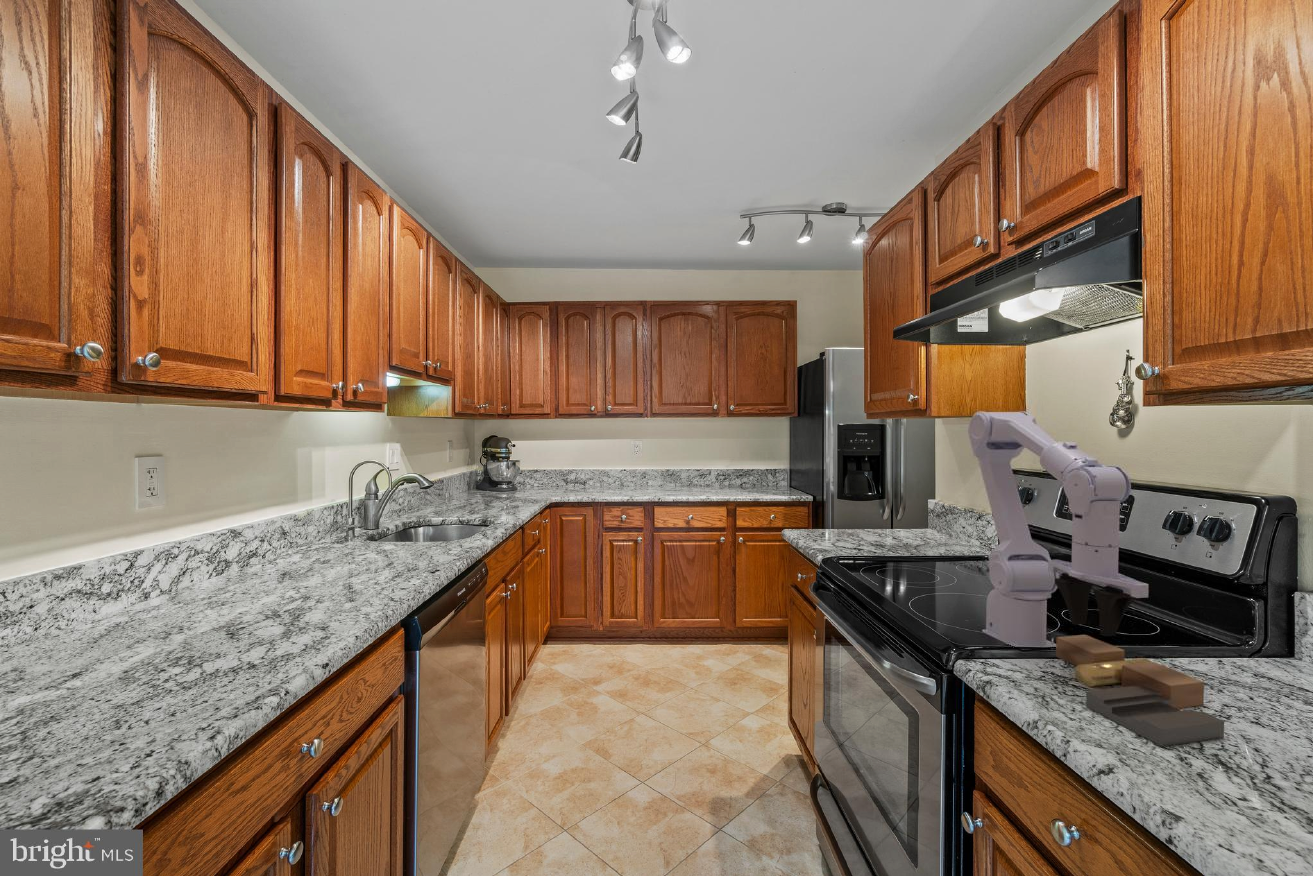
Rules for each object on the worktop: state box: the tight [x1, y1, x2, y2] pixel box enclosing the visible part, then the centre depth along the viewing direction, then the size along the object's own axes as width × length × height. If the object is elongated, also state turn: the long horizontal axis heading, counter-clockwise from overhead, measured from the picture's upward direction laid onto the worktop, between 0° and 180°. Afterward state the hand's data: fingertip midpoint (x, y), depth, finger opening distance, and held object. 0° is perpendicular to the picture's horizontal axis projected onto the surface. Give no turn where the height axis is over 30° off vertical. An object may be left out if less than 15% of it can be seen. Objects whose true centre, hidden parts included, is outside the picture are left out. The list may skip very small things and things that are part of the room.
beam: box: [1055, 634, 1205, 709], centre depth 88 cm, size 18×6×3 cm, turn 11°
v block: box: [1085, 685, 1225, 748], centre depth 76 cm, size 10×10×2 cm
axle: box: [1074, 657, 1152, 688], centre depth 87 cm, size 12×3×3 cm, turn 101°
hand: (1092, 629), depth 87 cm, fingers open, 4 cm apart
